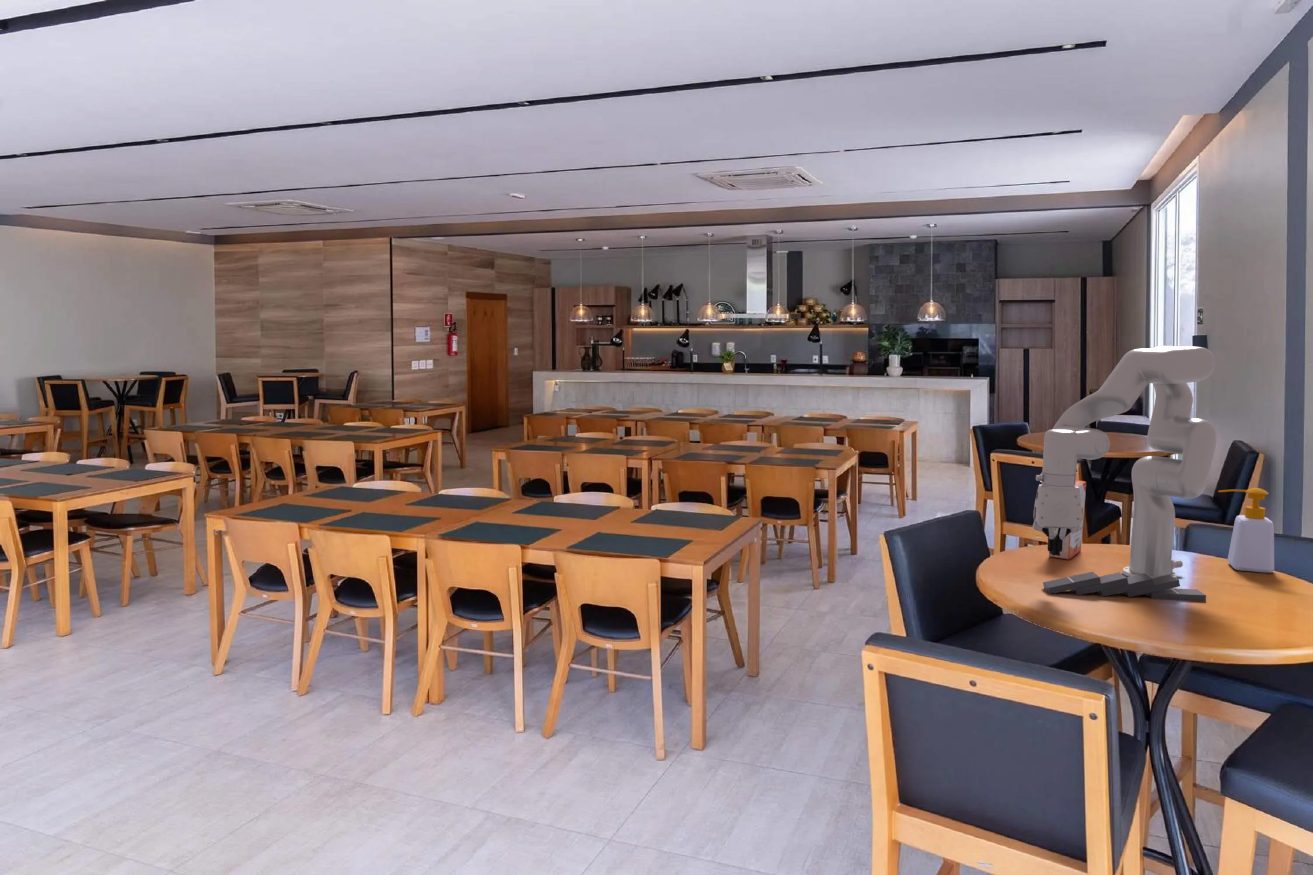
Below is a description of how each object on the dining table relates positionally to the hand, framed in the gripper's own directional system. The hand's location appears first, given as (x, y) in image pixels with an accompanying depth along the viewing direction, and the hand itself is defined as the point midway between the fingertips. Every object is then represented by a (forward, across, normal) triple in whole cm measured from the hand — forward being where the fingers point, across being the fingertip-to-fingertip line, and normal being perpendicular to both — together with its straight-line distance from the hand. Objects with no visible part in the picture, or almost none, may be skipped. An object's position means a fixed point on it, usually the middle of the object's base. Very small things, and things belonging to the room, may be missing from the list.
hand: (1054, 554), depth 224 cm
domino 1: (+8, -2, 0) cm, 9 cm away
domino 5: (+9, +22, 0) cm, 24 cm away
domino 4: (+9, +16, 0) cm, 19 cm away
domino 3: (+9, +11, 0) cm, 14 cm away
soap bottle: (+10, +58, +34) cm, 68 cm away
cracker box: (+10, +15, +41) cm, 44 cm away
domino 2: (+8, +5, 0) cm, 10 cm away
